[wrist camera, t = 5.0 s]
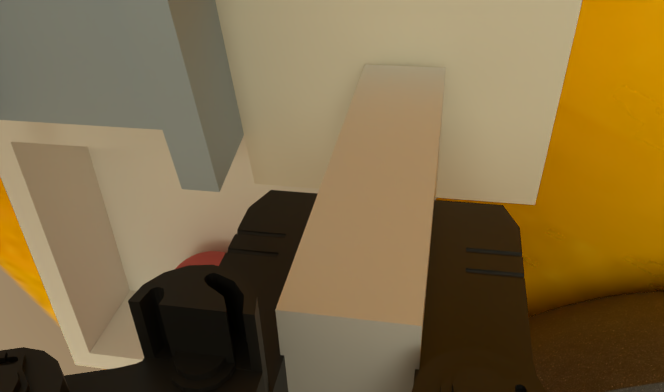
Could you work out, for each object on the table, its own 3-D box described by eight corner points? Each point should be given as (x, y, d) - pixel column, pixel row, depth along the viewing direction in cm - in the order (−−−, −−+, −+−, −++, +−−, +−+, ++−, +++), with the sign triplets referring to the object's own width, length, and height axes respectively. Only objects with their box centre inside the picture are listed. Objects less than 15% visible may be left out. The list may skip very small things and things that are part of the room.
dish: (52, 60, 21) (-24, 115, 18) (365, 73, 19) (343, 137, 16) (122, 292, 27) (75, 365, 24) (366, 319, 25) (350, 401, 22)
